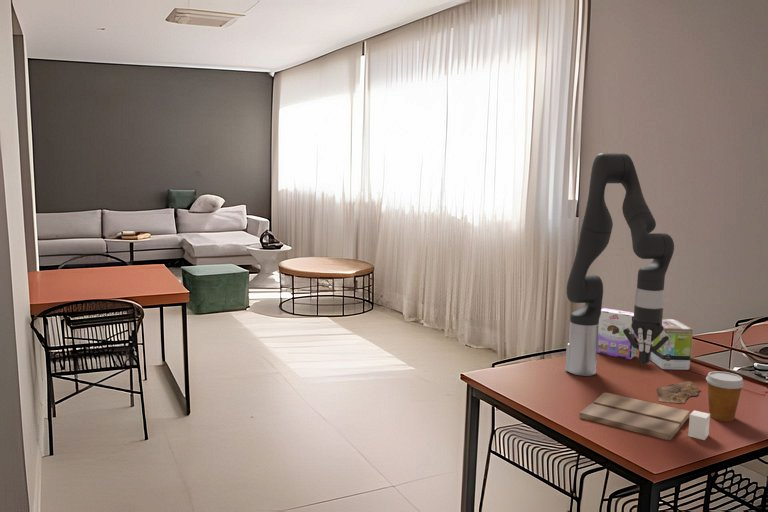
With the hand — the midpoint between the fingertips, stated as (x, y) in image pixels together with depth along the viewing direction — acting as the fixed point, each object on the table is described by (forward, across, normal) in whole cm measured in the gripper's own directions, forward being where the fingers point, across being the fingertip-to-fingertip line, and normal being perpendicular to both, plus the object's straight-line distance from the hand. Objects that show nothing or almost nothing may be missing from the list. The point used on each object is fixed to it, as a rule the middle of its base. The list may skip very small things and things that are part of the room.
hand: (644, 363), depth 189 cm
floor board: (+14, 0, -12) cm, 18 cm away
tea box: (+15, -7, +53) cm, 55 cm away
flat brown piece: (+15, +4, +24) cm, 28 cm away
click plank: (+14, 0, -1) cm, 14 cm away
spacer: (+14, +17, -8) cm, 24 cm away
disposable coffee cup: (+14, +19, +10) cm, 26 cm away
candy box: (+15, -25, +52) cm, 59 cm away
